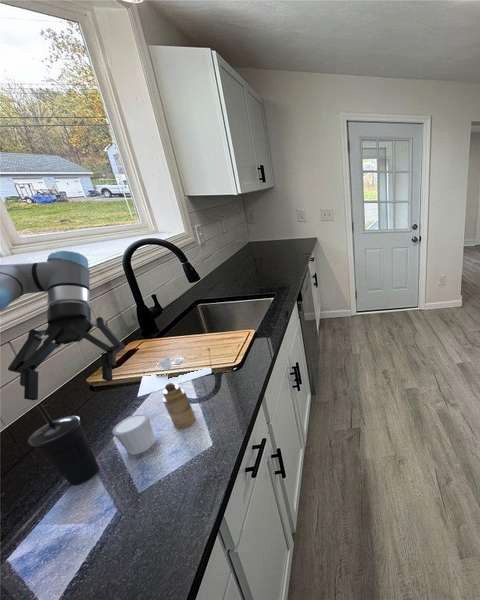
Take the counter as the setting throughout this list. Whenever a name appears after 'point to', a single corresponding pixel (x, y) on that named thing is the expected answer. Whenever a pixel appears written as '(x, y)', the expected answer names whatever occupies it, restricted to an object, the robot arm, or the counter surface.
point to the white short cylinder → (135, 433)
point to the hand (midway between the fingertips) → (70, 389)
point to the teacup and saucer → (167, 362)
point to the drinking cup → (65, 448)
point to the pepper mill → (178, 406)
